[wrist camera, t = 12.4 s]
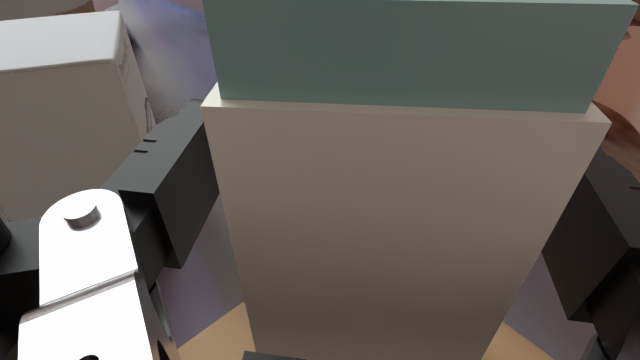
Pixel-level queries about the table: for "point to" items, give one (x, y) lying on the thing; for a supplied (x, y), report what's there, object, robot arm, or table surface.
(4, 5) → the coffee cup
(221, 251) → the table surface
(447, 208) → the cream carton
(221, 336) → the oak box
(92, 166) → the supplement box
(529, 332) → the table surface
